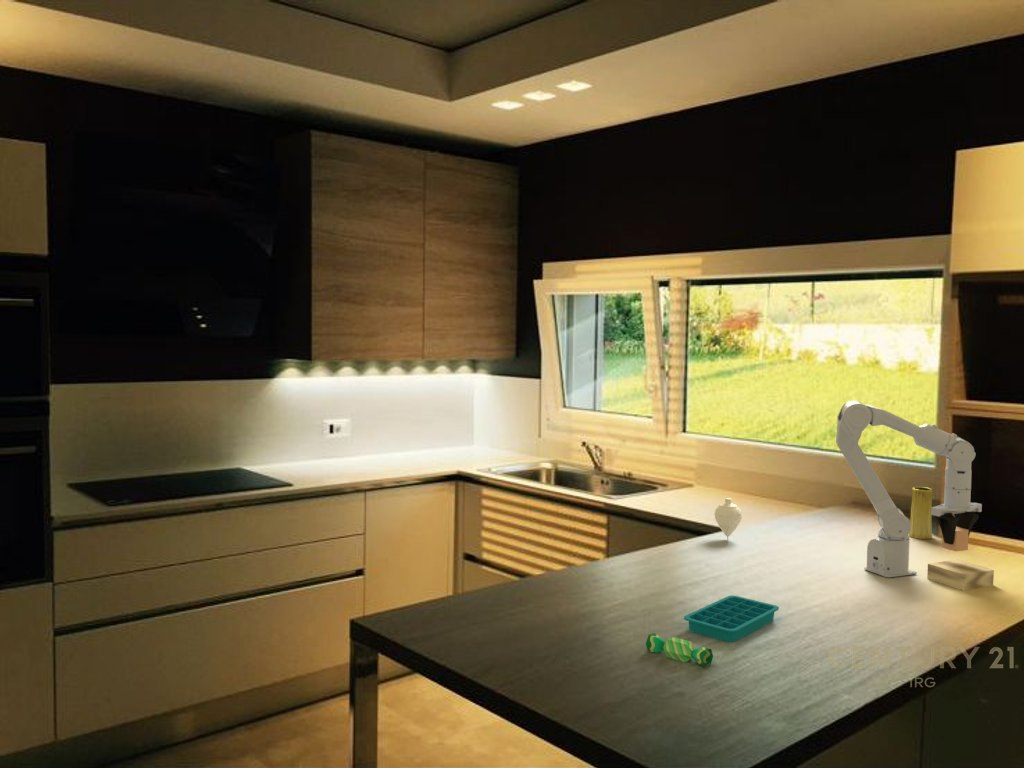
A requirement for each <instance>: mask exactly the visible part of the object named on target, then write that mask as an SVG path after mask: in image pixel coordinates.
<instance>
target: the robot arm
mask: <svg viewBox="0 0 1024 768" xmlns="http://www.w3.org/2000/svg"><path fill="white" fill-rule="evenodd" d="M868 426H872V427H875V426H885V427H887V428H890V429H892V430H895V431H897V432H899V433H902V434H905V435H907V436H909V437H912V438H913V440H914V443H915V446H919V447H920V448H922V449H925V450H928V451H930V452H932V453H934V454H936V455H939V456H944V457H945V459H946V460H945V468H944V469H945V470H944V491H943V503H941V504H939V505H936V506H932V511H931V515H932V516H934V518H935V519H936V521H937V523H938V525H939V527H940V531H941V535H943V539H944V543H947V544H953V543H954V538H955V530H956V527H960V528H964V529H968V530H969V532H968V539H969V537H970V534H971V532H972V530H973V527H974V525H975V523H976V522H977V520H978V519H979V514H978V513H981V512H982V511H983V510H982V507H983V505H982V504H983V503H978V502H971V494H972V493H971V491H972V462H973V461H974V460H975V458H976V455H977V454H976V452H975V448H974V446H973V445H972V444H971V443H970V442H969V441H967V440H965V439H963V438H961V437H960V436H958V435H957V434H956V433H953V432H952V433H949V432H946V431H944V430H942V429H940V428H939V426H938V425H936V424H935V423H931V424H929V423H925V424H922V425H917V424H915V423H912V422H910V421H909V420H906V419H904V418H902V417H900V416H898V415H896V414H894V413H892V412H890V411H888V410H886V409H883V408H880V407H876V406H874V405H871V404H867V403H865V404H863V403H862V402H860V401H858V400H849V401H846V402H845V403H844V404H843V405H842V406H841V408H840V410H839V412H838V414H837V425H836V434H835V435H836V436H835V442H836V446H837V447H838V449H839V450H840V452H841V454H842V455H843V457H844V458H845V461H846V462H847V464H848V466H849V467H850V469H851V471H852V472H853V474H854V475H855V477H856V479H857V480H858V483H859V484H860V486H861V488H862V489H863V491H864V492H865V494H866V496H867V497H868V499H869V501H870V502H871V504H872V507H873V508H874V510H875V511H876V514H877V521H878V524H879V526H880V527H881V529H880V530H879V531H878V532H877V536H876V537H875V538H873V539H870V541H868V543H867V549H866V566H864V570H866V571H868V572H871V573H874V574H876V575H879V576H882V577H885V578H895V577H902V576H903V577H904V576H910V575H917V574H918V573H917V572H918V571H915V570H912V569H909V563H910V562H909V560H910V536H909V533H910V530H911V523H910V519H909V518H908V517H907V516H906V515H905V514H904V512H903V511H902V510H901V509H900V508H898V507H897V505H896V504H895V503H894V501H893V500H892V498H891V497H890V494H889V493H888V491H887V490H886V488H885V486H884V484H883V483H882V481H881V479H880V477H878V475H877V473H876V472H875V470H874V468H873V466H872V464H871V463H870V461H869V459H868V457H867V456H866V454H865V453H864V451H863V449H862V448H861V446H860V445H859V441H860V439H861V437H862V434H863V432H864V430H865V429H866V428H867V427H868ZM976 512H977V513H976Z"/></svg>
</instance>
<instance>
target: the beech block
mask: <svg viewBox="0 0 1024 768" xmlns="http://www.w3.org/2000/svg"><path fill="white" fill-rule="evenodd" d="M994 574H995V570H994V569H991V568H988V567H984V566H980V565H978V564H974V563H970V562H967V561H964V560H961V559H950V560H946V561H937V562H931V563H927V573H926V575H927V577H926V578H927V580H931V581H932V582H933V581H934V582H937V583H940V584H942V585H943V584H944V585H945V586H948V587H952V588H955V589H959V590H962V591H966V590H972V589H979V588H984V587H990V586H994V579H995V577H994Z"/></svg>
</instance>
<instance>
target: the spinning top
mask: <svg viewBox="0 0 1024 768" xmlns="http://www.w3.org/2000/svg"><path fill="white" fill-rule="evenodd" d="M724 501H725V502H723V503H721V504H719V505H718V506H717V507H716V509H715V510H714V519H715V521H716V523H717V525H718V527H719V528H720V530H721V531H722V533H723V534H724V535H725V537H726V540H729V537H730V536H731V535H732V534H733V533H734V532H735V530H736V529H737V528H738V526H739V525H740V523H741V521H742V517H743V513H742V510H741V508H740V507H739V506H738V505H737V504H734V503H733V498H732V497H731V498H730V497H726V498H724Z"/></svg>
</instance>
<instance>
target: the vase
mask: <svg viewBox="0 0 1024 768" xmlns="http://www.w3.org/2000/svg"><path fill="white" fill-rule="evenodd" d="M932 490H933V489H932V488H930V487H925V486H913V487H912V493H911V506H910V519H909V521H910V523H911V530H910V533H909V534H908V535H909V536H910V537H911V538H912V539H913V538H914V539H919V540H930V539H931V540H932V538H933V534H932V531H933V530H932V526H933V524H932V517H933V515H931V511H932V507H933V505H932V504H933V501H932V500H933V496H932V495H933V491H932Z"/></svg>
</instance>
